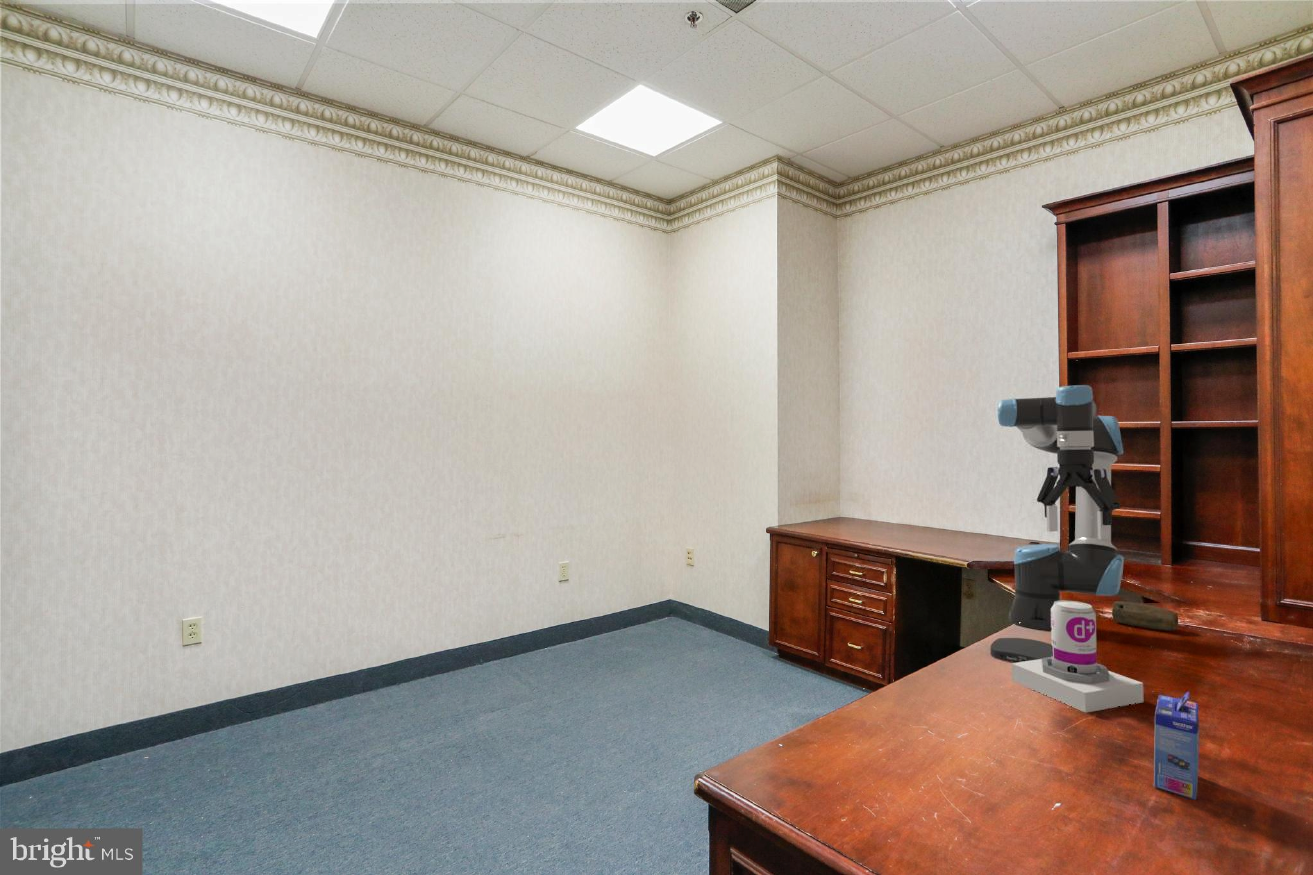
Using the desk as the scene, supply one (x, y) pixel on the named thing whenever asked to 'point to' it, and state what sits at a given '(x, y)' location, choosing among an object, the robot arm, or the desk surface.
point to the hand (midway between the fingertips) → (1077, 535)
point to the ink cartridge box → (1176, 745)
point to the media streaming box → (1020, 649)
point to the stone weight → (1144, 616)
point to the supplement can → (1073, 637)
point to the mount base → (1078, 685)
